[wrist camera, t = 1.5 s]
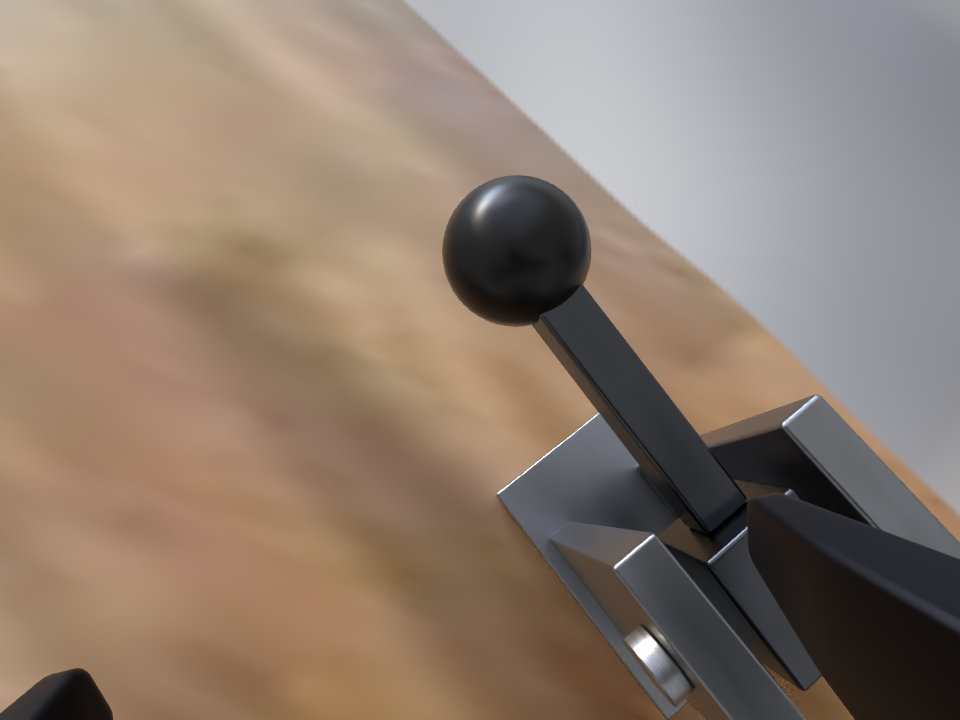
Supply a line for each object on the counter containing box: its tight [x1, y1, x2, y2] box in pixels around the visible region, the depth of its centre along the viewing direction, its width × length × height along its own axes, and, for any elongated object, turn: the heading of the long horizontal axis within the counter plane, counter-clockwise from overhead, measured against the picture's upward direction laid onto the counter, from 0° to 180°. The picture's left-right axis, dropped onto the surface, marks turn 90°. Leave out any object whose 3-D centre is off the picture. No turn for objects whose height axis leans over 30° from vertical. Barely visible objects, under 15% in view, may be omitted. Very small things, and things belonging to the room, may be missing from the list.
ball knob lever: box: [442, 175, 822, 691], centre depth 11 cm, size 11×3×3 cm, turn 38°
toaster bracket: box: [497, 395, 960, 720], centre depth 15 cm, size 9×6×12 cm, turn 38°
